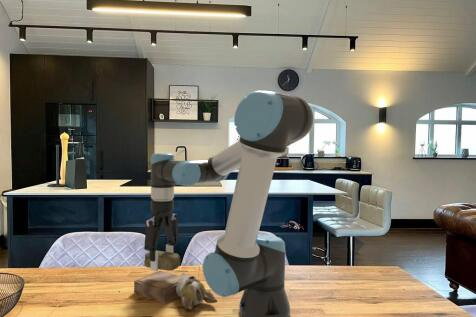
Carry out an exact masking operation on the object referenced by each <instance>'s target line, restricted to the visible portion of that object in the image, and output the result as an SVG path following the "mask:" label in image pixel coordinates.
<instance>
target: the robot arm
mask: <svg viewBox="0 0 476 317" xmlns="http://www.w3.org/2000/svg"><path fill="white" fill-rule="evenodd" d="M233 119H234V120H233V121H234V124H233V125H234V126H235V127H236V128H235V131H236V133H237V134H238V135H239V140H238V141H236V142H234V143H233V144H231V145H230V146H227V147H226V148H224V149H223V150H221V151H220V152H218V153H217V154H215V155H213V156H211V157H210V158H208V159H199V160H197V159H196V160H192V159H191V160H175V155H174V154H173V153H169V152H168V153H166V152H165V153H164V152H161V153H153V154H152V155H151V157H150V158H151V161H150V199H151V200H150V211H151V213H152V215H151V218H149V219H145V220H144V225H145V233H144V246H143V248H144V251H146V252H147V251H148V253H149V256H150V257H149V260H150V261H151V268H150V270H151V271H154V272H157V271H159V269H158V251H159V250H157V248H158V244H159V240H160V235H161V232H162V231H163V229H164V234H165V238H166V241H167V242H166V243H167V244H165V252H172V253H175V246H177V245H178V244H177V243H178V242H179V240H180V239H179V222H178V221H179V214H177V213H173V211H174V209H175V203H174V202H175V201H174V198H175V185H179V186H181V187H186V186H187V187H188V186H189V187H190V186H194V185H196V184H203V183H217V182H221V181H224V180H226V179H227V178H228V176H229V175H230V173H233V172H234V171H236V170H238V173H237V178H236V182H235V186H234V191H233V196H232V199H231V204H230V209H229V212H228V217H227V222H226V227H225V229H224V230H225V231H224V234H222V235H220V236H219V237H218V238H217V240H216V244H215V248H214V252H212V251H211V252H210V253H208V254H206V255H205V257H204V259H203V263H202V272H203V276H204V279H205V281H206V284H207V286H208V287H209V288H210V290H211V291H212V292H213V294H216V295H217V296H219V297H223V298H227V297H230V296H236V295H238V293H242V292H243V293H242V296H241V298H240V301H239V305H238V306H239V309H238V310H239V312H238V314H239V315H240V317H290V315H291V304H290V302H289V299H288V296H287V291H286V288H285V282H286V281H285V280H286V279H285V278H286V277H285V274H286V254H287V252H286V243H285V241H284V239H282V238H281V237H279V236H274V235H270V234H262V233H261V234H260V233H259V232H260V229H261V228H260V227H261V223H262V221H263V216H264V213H265V209H266V208H265V207H266V204H267V200H268V195H269V192H270V188H271V185H272V184H271V183H272V180H273V176H274V171H275V168H276V164H277V159H278V158H279V157H281V156H282V155H284V154H285V152H286V149H287V147H288V146H290V145H292V144H295V143H297V142H298V141H301V140H302V139H304V138H306V136H307V135H309V133H310V131H311V129H312V126H313V124H314V112H313V109H312V107H311V105H310V104H309V103H308V102H307V101H306V100H305V99H303V98H302V97H300V96H295V95H289V94H284V93H279V92H274V91H269V90H257V91H252V92H250V93H248V94H247V95H246V96H244V97H243V98H242V99H241V100H240V102H239V103H238V104H237V107H236V109H235V112H234V117H233Z"/></svg>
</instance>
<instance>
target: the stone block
mask: <svg viewBox="0 0 476 317" xmlns="http://www.w3.org/2000/svg"><path fill="white" fill-rule="evenodd" d="M157 251H158V270H159V271H166V272H168V271H169V272H172V271H175V270H176V269H178V268H179V267H180V266H181V257H180V255H179V253H177V252H176V253H175V252H174V253H172V252H166V251H161V250H157ZM149 257H150V256H149V252H147V253H145V255H144V262H143V265H144V267H146V268H150V269H151V261H150V260H149Z"/></svg>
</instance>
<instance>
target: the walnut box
mask: <svg viewBox="0 0 476 317" xmlns="http://www.w3.org/2000/svg"><path fill="white" fill-rule="evenodd" d="M181 276H182V275H177V274H174V273H170V272H168V271H164V270H158V271H154V272H153V273H151V274H147V275H146V276H144V277H140V278H138V279H136V280H134V281H133V282H134V283H133V293H134V294H136V295H138V296H142V297H145V298H148V299H150V300H151V299H152V300H154V301H157V302H159V303H162V304H167V303H168V302H170V301H173V300H174V299H176V298H178V297H179V296H178V295H177V292H176V287H177V284H178V282H179V280H180V278H181Z"/></svg>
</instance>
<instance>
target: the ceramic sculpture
mask: <svg viewBox="0 0 476 317" xmlns="http://www.w3.org/2000/svg"><path fill="white" fill-rule="evenodd" d="M180 276H181V278H180V280H179V282H178V284H177V287H176V292H177V295H178V297H179V298H180V301H181V304H182V306H183V308H184V309H185V310H189V311H191V310H192V309H194V308H193V307H194V306H196V305H199V304H201V303H203V301H204V302H205V303H207V304H213V303H214V304H216V303H217V302H218V300H217V299H216V297H215V296H214V293H212V292H211V291H210V290H207V289H206V288H205V285H204V284H203V283H202V282H201V281H200V280H199V279H198V278H197V277H196V276H191V275H188V274H185V273H182V274H181V275H180Z"/></svg>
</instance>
